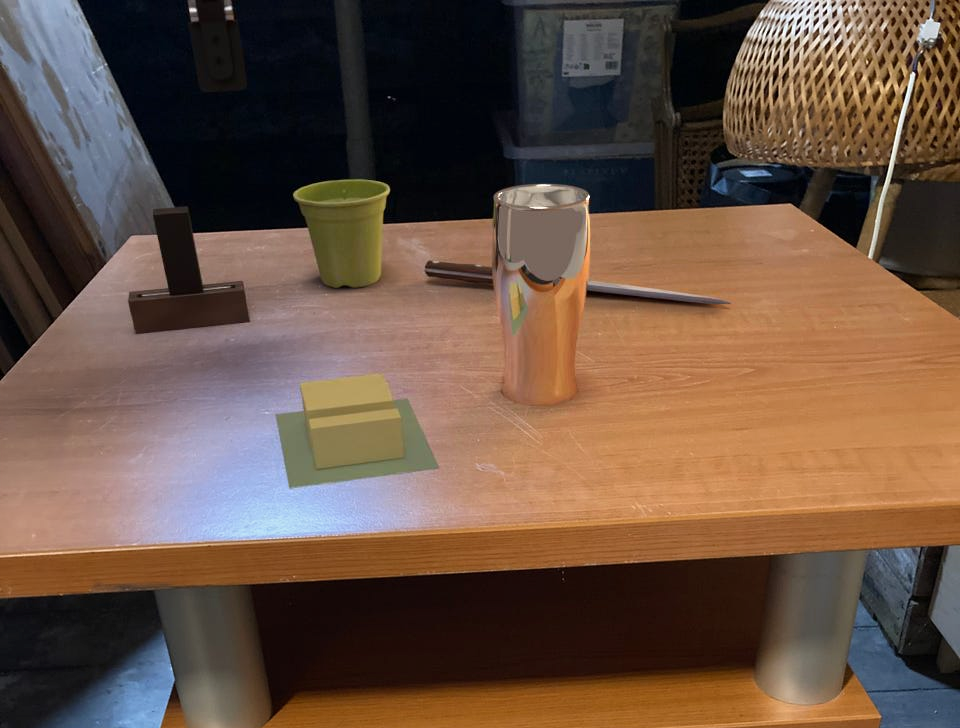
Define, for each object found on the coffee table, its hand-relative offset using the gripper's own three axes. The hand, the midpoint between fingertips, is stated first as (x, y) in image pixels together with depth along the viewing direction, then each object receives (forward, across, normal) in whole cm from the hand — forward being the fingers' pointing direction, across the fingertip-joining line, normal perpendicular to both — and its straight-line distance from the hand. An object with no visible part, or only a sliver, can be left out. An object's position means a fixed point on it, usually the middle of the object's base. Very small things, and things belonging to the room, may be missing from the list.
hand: (223, 80), depth 71 cm
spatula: (+21, -13, -7) cm, 26 cm away
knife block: (+21, -13, -7) cm, 26 cm away
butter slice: (+20, +21, +5) cm, 30 cm away
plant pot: (+22, -22, +9) cm, 32 cm away
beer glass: (+22, +13, +20) cm, 32 cm away
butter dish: (+21, +18, +5) cm, 28 cm away
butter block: (+20, +16, +5) cm, 27 cm away
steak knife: (+22, -11, +30) cm, 38 cm away
